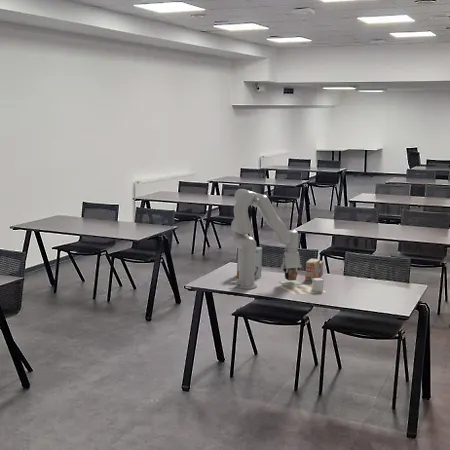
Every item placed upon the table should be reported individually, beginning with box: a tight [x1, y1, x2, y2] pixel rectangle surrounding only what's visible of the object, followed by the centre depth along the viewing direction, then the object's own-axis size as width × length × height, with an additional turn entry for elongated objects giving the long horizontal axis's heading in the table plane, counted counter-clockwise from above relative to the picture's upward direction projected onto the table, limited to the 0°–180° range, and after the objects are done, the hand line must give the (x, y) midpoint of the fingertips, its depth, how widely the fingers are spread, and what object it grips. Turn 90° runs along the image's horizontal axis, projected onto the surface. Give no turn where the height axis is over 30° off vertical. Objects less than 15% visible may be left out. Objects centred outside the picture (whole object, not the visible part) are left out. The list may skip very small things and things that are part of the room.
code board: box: [279, 283, 327, 296], centre depth 376 cm, size 22×20×1 cm
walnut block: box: [284, 268, 297, 281], centre depth 390 cm, size 5×5×7 cm
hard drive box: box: [236, 246, 263, 280], centre depth 404 cm, size 16×8×20 cm, turn 77°
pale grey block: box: [311, 277, 324, 292], centre depth 374 cm, size 5×5×7 cm
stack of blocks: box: [305, 258, 324, 282], centre depth 407 cm, size 21×6×12 cm, turn 157°
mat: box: [278, 279, 303, 286], centre depth 391 cm, size 12×9×1 cm
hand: (290, 277), depth 390 cm, fingers closed on walnut block, 5 cm apart
